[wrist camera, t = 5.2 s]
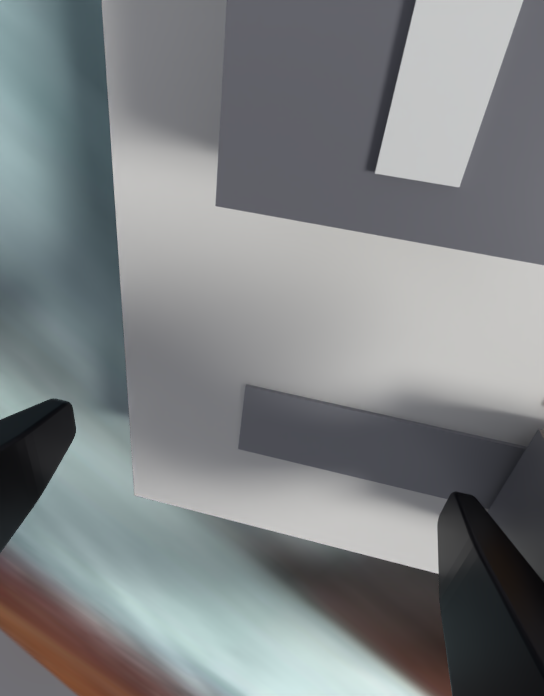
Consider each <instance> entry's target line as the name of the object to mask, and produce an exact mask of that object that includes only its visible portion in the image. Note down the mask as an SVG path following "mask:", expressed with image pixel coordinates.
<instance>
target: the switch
mask: <svg viewBox="0 0 544 696" xmlns="http://www.w3.org/2000/svg"><path fill="white" fill-rule="evenodd" d="M488 513H489V514H490V516H491V517H492V518H493V519H494V521H495V522H496V523H497V524H498V526H499V527H500V528H501V529H502V531H503V532H504V533H505V534H506V536H507V537H508V538H509V539H510V541H511V542H512V543H513V544H514V546H515V547H516V548H517V549H518V550H519V552H520V553H521V554H522V555H523V557H524V558H525V559H526V560H527V562H528V563H529V564H530V565H531V567H532V568H533V569H534V570H535V572H536V573H537V574H538V575H539V577H540V578H541V579H542V580H543V582H544V430H542V429H538V430H537V432H536V433H535V435H534V437H533V438H532V440H531V441H530V443H529V445H528V446H527V448H526V450H525V451H524V453H523V455H522V456H521V458H520V459H519V461H518V463H517V464H516V466H515V468H514V469H513V471H512V473H511V474H510V476H509V478H508V479H507V481H506V482H505V484H504V486H503V487H502V489H501V491H500V492H499V494H498V496H497V497H496V499H495V500H494V502H493V504H492V505H491V507H490V509H489V510H488Z"/></svg>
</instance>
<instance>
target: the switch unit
mask: <svg viewBox="0 0 544 696" xmlns="http://www.w3.org/2000/svg"><path fill="white" fill-rule="evenodd" d="M226 3H227V0H102V15H103V30H104V45H105V61H106V76H107V91H108V106H109V121H110V136H111V151H112V166H113V181H114V196H115V211H116V226H117V241H118V256H119V271H120V286H121V301H122V316H123V331H124V347H125V362H126V377H127V392H128V407H129V422H130V437H131V452H132V467H133V482H134V495H135V496H138V497H142V498H146V499H150V500H154V501H158V502H162V503H166V504H170V505H173V506H177V507H181V508H185V509H189V510H193V511H197V512H201V513H204V514H208V515H212V516H216V517H220V518H224V519H228V520H232V521H235V522H239V523H243V524H247V525H251V526H255V527H259V528H263V529H266V530H270V531H274V532H278V533H282V534H286V535H290V536H294V537H297V538H301V539H305V540H309V541H313V542H317V543H321V544H325V545H328V546H332V547H336V548H340V549H344V550H348V551H352V552H356V553H360V554H363V555H367V556H371V557H375V558H379V559H383V560H387V561H391V562H394V563H398V564H402V565H406V566H410V567H414V568H418V569H422V570H425V571H429V572H433V573H437V574H439V572H438V536H437V523H438V518H439V515H440V513H441V511H442V509H443V507H444V505H445V503H446V501H447V500H448V498H449V496H450V494H451V493H452V492H454V491H457V492H462V493H466V494H470V495H473V496H474V497H476V498H477V500H478V501H479V502H480V503H481V504H482V506H483V507H484V508H485V509H486V511H487V512H488V510H489V509H490V507H491V505H492V504H493V502H494V500H495V499H496V497H497V496H498V494H499V492H500V491H501V489H502V487H503V486H504V484H505V482H506V481H507V479H508V478H509V476H510V474H511V473H512V471H513V469H514V468H515V466H516V464H517V463H518V461H519V459H520V458H521V456H522V455H523V453H524V451H525V450H526V448H527V446H528V445H529V443H530V441H531V440H532V438H533V437H534V435H535V433H536V432H537V430H538V429H542V430H544V265H539V264H534V263H528V262H522V261H517V260H511V259H506V258H500V257H495V256H489V255H484V254H478V253H473V252H467V251H461V250H456V249H450V248H445V247H439V246H434V245H428V244H423V243H417V242H412V241H406V240H400V239H395V238H389V237H384V236H378V235H373V234H367V233H362V232H356V231H351V230H345V229H339V228H334V227H328V226H323V225H317V224H312V223H306V222H301V221H295V220H290V219H284V218H278V217H273V216H267V215H262V214H256V213H251V212H245V211H240V210H234V209H229V208H223V207H217V206H215V204H216V186H217V168H218V149H219V131H220V113H221V95H222V76H223V58H224V40H225V22H226Z"/></svg>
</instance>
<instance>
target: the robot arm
mask: <svg viewBox="0 0 544 696" xmlns="http://www.w3.org/2000/svg"><path fill="white" fill-rule="evenodd" d="M75 433H76V426H75V419H74V413H73V407H72V405H71V403H70V402H68V401H63V400H59V399H49V400H47V401H44V402H42V403H40V404H37V405H35V406H32V407H30V408H28V409H25V410H23V411H20V412H18V413H16V414H13V415H11V416H8V417H6V418H4V419H1V420H0V553H1V551H2V550H3V549H4V547H5V546H6V544H7V543H8V542H9V540H10V539H11V537H12V536H13V535H14V533H15V532H16V530H17V529H18V528H19V526H20V525H21V523H22V522H23V521H24V519H25V518H26V516H27V515H28V514H29V512H30V511H31V510H32V508H33V507H34V505H35V504H36V502H37V501H38V499H39V498H40V496H41V495H42V493H43V491H44V490H45V488H46V486H47V485H48V483H49V481H50V479H51V478H52V476H53V474H54V472H55V471H56V469H57V467H58V465H59V464H60V462H61V460H62V458H63V457H64V455H65V453H66V452H67V450H68V448H69V446H70V445H71V443H72V441H73V439H74V437H75ZM437 536H438V572H439V599H440V608H441V617H442V624H443V631H444V638H445V645H446V653H447V660H448V667H449V674H450V682H451V689H452V696H544V582H543V580H542V579H541V578H540V577H539V575H538V574H537V573H536V572H535V570H534V569H533V568H532V567H531V565H530V564H529V563H528V562H527V560H526V559H525V558H524V557H523V555H522V554H521V553H520V552H519V550H518V549H517V548H516V547H515V546H514V544H513V543H512V542H511V541H510V539H509V538H508V537H507V536H506V534H505V533H504V532H503V531H502V529H501V528H500V527H499V526H498V524H497V523H496V522H495V521H494V519H493V518H492V517H491V516H490V514H489V513H488V512H487V511H486V509H485V508H484V507H483V506H482V504H481V503H480V502H479V501H478V500H477V498H476V497H474V496H473V495H470V494H466V493H462V492H457V491H454V492H452V493H451V494H450V496H449V498H448V500H447V501H446V503H445V505H444V507H443V509H442V511H441V513H440V515H439V518H438V523H437Z"/></svg>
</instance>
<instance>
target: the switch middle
mask: <svg viewBox="0 0 544 696" xmlns="http://www.w3.org/2000/svg"><path fill="white" fill-rule="evenodd" d="M215 206H217V207H223V208H229V209H234V210H240V211H245V212H251V213H256V214H262V215H267V216H273V217H278V218H284V219H290V220H295V221H301V222H306V223H312V224H317V225H323V226H328V227H334V228H339V229H345V230H351V231H356V232H362V233H367V234H373V235H378V236H384V237H389V238H395V239H400V240H406V241H412V242H417V243H423V244H428V245H434V246H439V247H445V248H450V249H456V250H461V251H467V252H473V253H478V254H484V255H489V256H495V257H500V258H506V259H511V260H517V261H522V262H528V263H534V264H539V265H544V0H227V3H226V22H225V40H224V58H223V76H222V95H221V113H220V131H219V149H218V168H217V186H216V204H215Z"/></svg>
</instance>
